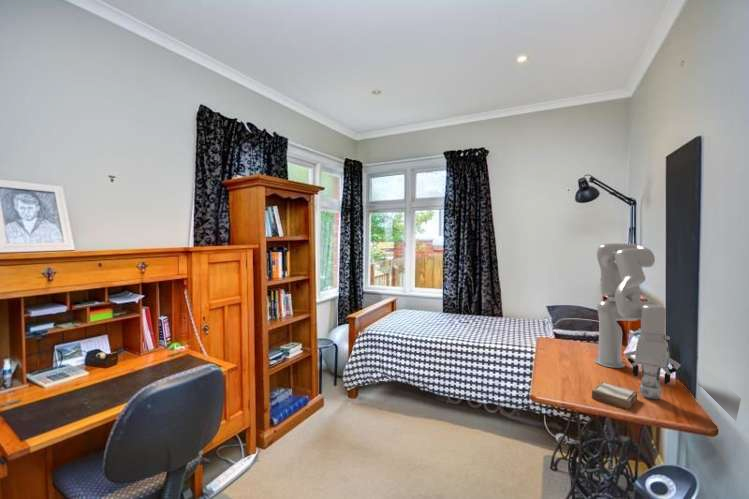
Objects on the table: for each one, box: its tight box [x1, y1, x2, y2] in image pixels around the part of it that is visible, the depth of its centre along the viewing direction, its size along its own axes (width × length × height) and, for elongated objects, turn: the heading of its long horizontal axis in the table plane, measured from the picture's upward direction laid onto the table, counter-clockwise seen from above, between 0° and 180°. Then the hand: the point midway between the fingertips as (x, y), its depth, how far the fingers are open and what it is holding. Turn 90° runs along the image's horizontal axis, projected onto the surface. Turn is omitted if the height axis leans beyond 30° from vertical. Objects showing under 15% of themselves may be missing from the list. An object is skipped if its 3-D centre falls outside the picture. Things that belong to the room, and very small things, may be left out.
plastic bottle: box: [639, 357, 662, 400], centre depth 139 cm, size 6×7×20 cm
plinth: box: [591, 381, 638, 410], centre depth 138 cm, size 12×12×3 cm
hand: (650, 379), depth 139 cm, fingers open, 9 cm apart
